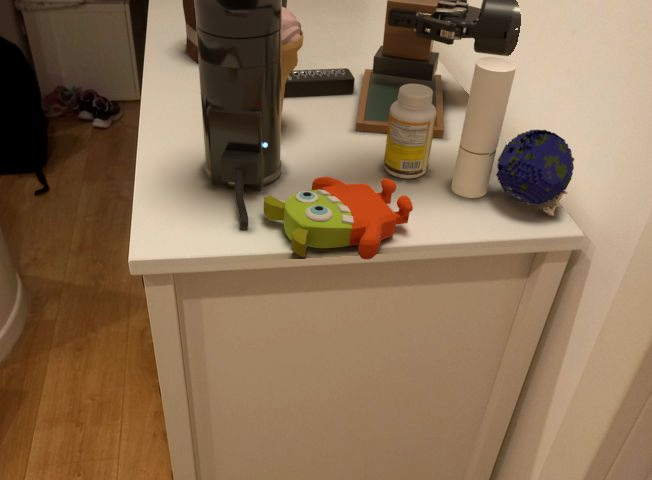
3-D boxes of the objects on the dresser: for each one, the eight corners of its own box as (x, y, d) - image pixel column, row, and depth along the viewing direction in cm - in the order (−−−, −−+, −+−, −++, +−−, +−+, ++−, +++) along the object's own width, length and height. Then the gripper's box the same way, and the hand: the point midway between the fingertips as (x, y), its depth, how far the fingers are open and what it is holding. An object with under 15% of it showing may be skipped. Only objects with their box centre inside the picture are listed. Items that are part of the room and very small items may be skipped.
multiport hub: (354, 93, 104) (355, 78, 103) (282, 97, 103) (283, 81, 101) (347, 82, 108) (348, 67, 106) (278, 85, 106) (278, 70, 104)
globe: (527, 212, 84) (557, 155, 84) (565, 217, 77) (599, 154, 76) (477, 181, 82) (508, 122, 81) (511, 183, 75) (546, 118, 74)
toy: (435, 221, 71) (300, 243, 67) (429, 254, 74) (298, 277, 69) (375, 158, 81) (254, 173, 77) (371, 189, 84) (254, 205, 80)
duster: (431, 81, 102) (442, 9, 95) (372, 73, 103) (378, 1, 97) (436, 69, 105) (447, -2, 98) (379, 61, 107) (385, -8, 100)
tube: (463, 200, 82) (491, 73, 72) (444, 183, 85) (468, 59, 75) (493, 194, 83) (524, 68, 73) (473, 177, 86) (500, 55, 76)
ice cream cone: (312, 117, 98) (318, -40, 84) (282, 150, 90) (284, -18, 77) (242, 104, 100) (237, -51, 87) (207, 134, 93) (196, -30, 79)
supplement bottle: (402, 155, 90) (413, 76, 83) (435, 171, 87) (450, 91, 80) (373, 168, 87) (382, 88, 80) (407, 185, 84) (419, 103, 77)
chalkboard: (442, 138, 94) (444, 129, 93) (355, 130, 95) (356, 122, 94) (440, 82, 109) (441, 74, 108) (364, 76, 110) (365, 68, 109)
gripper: (522, -16, 98) (403, -28, 102) (515, 13, 89) (384, -2, 92) (510, 39, 104) (397, 25, 107) (502, 72, 94) (378, 56, 97)
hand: (392, 13), depth 99 cm, fingers closed on duster, 3 cm apart
